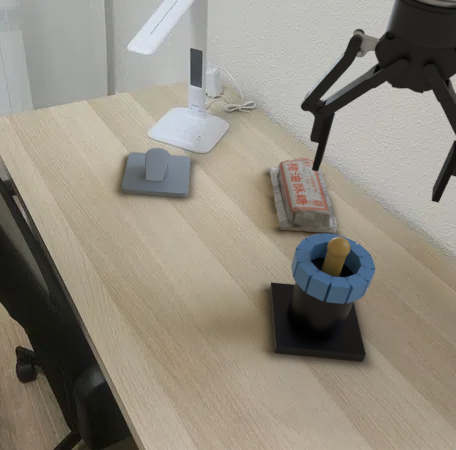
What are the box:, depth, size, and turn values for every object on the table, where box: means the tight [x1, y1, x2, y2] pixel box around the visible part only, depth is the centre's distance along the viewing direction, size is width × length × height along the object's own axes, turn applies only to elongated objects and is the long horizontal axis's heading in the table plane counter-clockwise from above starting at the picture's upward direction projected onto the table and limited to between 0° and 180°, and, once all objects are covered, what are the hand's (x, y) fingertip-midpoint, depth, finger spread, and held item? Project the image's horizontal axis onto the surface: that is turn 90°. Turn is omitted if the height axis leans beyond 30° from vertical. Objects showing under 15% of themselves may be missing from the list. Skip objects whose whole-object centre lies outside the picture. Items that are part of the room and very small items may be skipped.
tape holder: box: [269, 236, 367, 362], centre depth 75 cm, size 12×12×16 cm
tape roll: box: [290, 232, 377, 304], centre depth 73 cm, size 10×10×3 cm
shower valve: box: [121, 147, 191, 198], centre depth 104 cm, size 12×6×15 cm
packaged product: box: [269, 157, 339, 234], centre depth 100 cm, size 18×5×10 cm
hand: (374, 180), depth 65 cm, fingers open, 13 cm apart
